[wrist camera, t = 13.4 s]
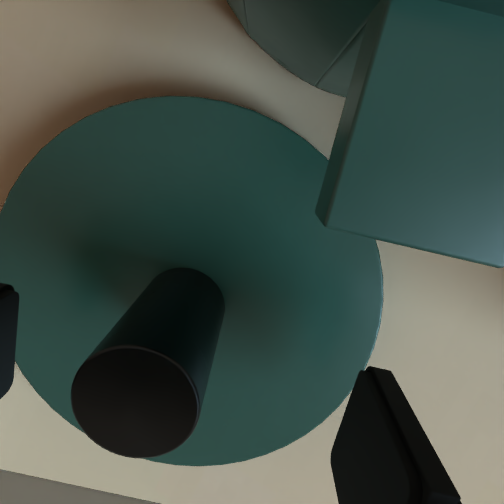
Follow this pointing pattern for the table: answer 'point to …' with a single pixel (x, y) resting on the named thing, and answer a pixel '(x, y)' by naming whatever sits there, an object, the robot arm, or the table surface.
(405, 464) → the robot arm
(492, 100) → the pot
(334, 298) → the lid
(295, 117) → the table surface
